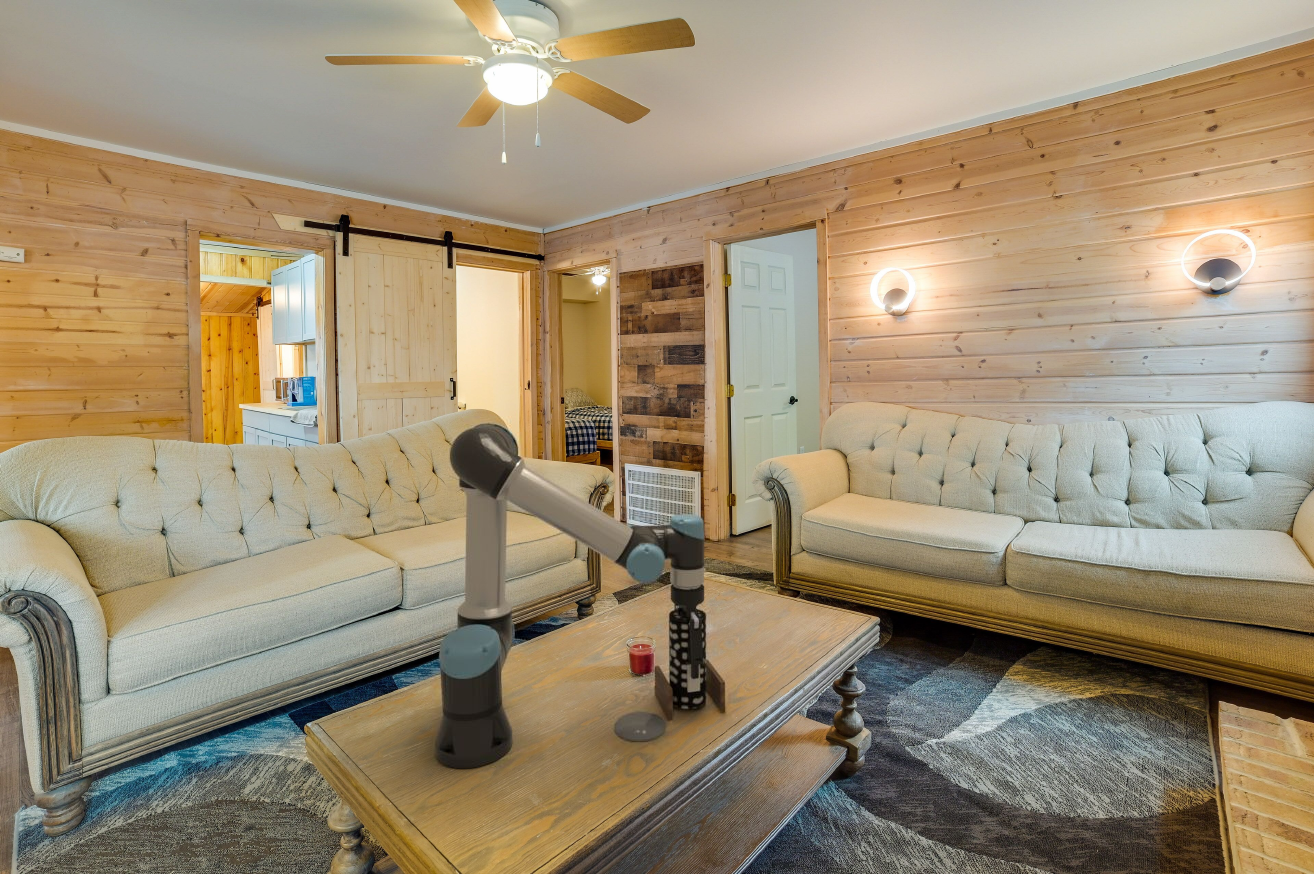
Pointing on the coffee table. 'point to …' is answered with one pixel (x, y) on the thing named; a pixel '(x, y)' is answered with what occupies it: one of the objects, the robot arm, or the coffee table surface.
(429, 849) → the coffee table surface
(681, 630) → the spotted tube
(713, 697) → the rack
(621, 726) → the coaster
